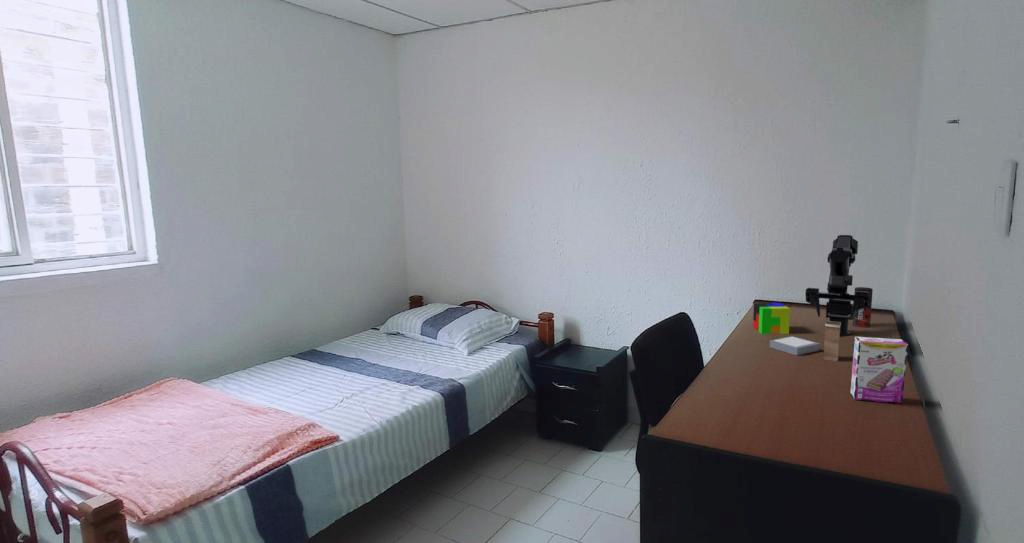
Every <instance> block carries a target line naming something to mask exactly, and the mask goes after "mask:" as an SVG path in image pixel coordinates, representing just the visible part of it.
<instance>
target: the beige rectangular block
mask: <svg viewBox="0 0 1024 543" xmlns="http://www.w3.org/2000/svg"><path fill="white" fill-rule="evenodd" d="M840 325H841V322H832V321H829V320H826V321H825V325H824V326H825V327H824V341H823V342H824V344H823V345H824V346H823V360H826V361H832V362H833V361H834V362H839V361H838V360H839V358H840V357H839V354H840V353H839V352H840V340H841V336H840Z"/></svg>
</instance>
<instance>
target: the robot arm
mask: <svg viewBox="0 0 1024 543" xmlns="http://www.w3.org/2000/svg"><path fill="white" fill-rule="evenodd" d="M858 252H859V241H858V240H856V239H855V238H854V236H853V235H851V234H839V235H837V238H835V239H834V240H833V241H832V249H831V250H830V252H829V253H828V255H827V263H829V268H830V269H829V270H830V271H829V276H828V282H827V288H826V289H827V292H825V291H823V292H821V291H820V288H818V287H807V288H806V289H805V302H806V303H809V305H812V306H813V307H814V309H815V311H816V315H817V317H818V318H820V317H821V308H820V307H821V306H820V299H827V300H828V301H826V306H825V307H826V308H825V318H826V319H828V318H829V320H828V321H832V322H841V325H840V337H844V336H849V335H852V332H850V331H848V330H849V320H850V321H853V319H854V316H855V314H856V313H857V312H858V311H859V310H860V309H863V308H864V307H869V298H870V293H869V292H867V291H856V295H854V294H850V293H848V288H849V287H852V286H853V277H854V276H853V275H852V274H851V275H850V267H852V266H851V265H852V264H854V263H855V262H856V259H857V258H856V255H858ZM852 302H853V303H852Z"/></svg>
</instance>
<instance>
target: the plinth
mask: <svg viewBox="0 0 1024 543" xmlns="http://www.w3.org/2000/svg"><path fill="white" fill-rule="evenodd" d="M820 344H821V343H819V342H815V341H812V340H808V339H803V338H800V337H797V336H793V335H791V336H786V337H781V338H776V339H770V340H769V348H770V349H774V350H777V351H780V352H781V351H782V352H784V353H788V354H791V355H794V356H800V355H806V354H809V353H814V352H815V353H816V352H818V351H820V347H821V346H820Z"/></svg>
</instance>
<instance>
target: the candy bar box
mask: <svg viewBox="0 0 1024 543" xmlns="http://www.w3.org/2000/svg"><path fill="white" fill-rule="evenodd" d="M908 349H909V344H908V342H906V341H905V340H903V339H901V338H900V339H899V338H884V337H883V338H882V337H871V336H869V337H867V336H854V345H853V355H852V356H853V357H852V371H851V380H850V381H851V382H850V383H851V384H850V395H851V397H853V399H854V400H855V401H856V400H857V401H866V402H867V401H868V402H876V403H877V402H878V403H888V402H902V403H903V400H904V391H905V380H906V371H907V370H906V369H907V360H908V351H909V350H908Z"/></svg>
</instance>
